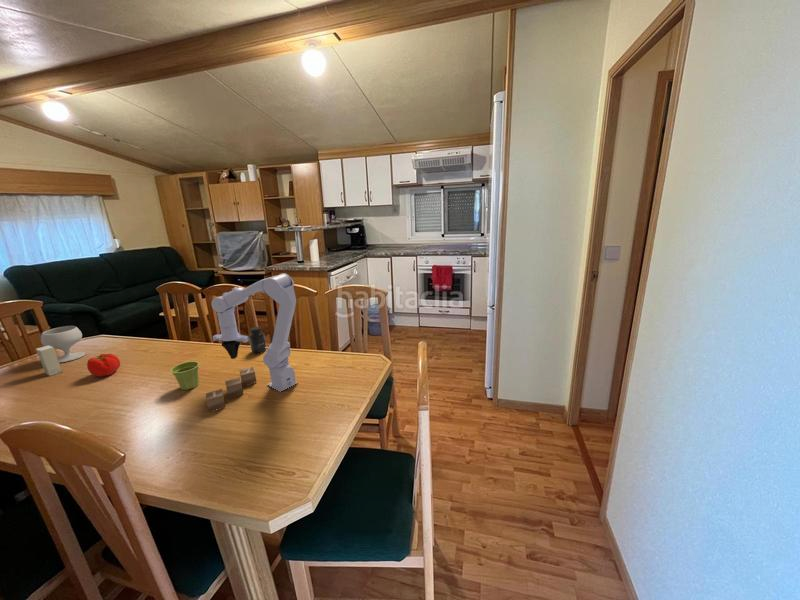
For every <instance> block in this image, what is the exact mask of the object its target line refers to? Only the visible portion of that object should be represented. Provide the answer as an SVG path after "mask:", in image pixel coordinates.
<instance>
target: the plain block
mask: <svg viewBox="0 0 800 600" xmlns="http://www.w3.org/2000/svg"><path fill="white" fill-rule="evenodd" d="M224 383H225V388H226V393H227V398H228V399H231V398H230V397H233V398H235V397H234V396H236V397H238V396H237V395H239V396H242V395H241V394H243V395H244V391H243V384H242V381H241V376H240V377H236V378H231V379H227V380H225V381H224Z"/></svg>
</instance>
